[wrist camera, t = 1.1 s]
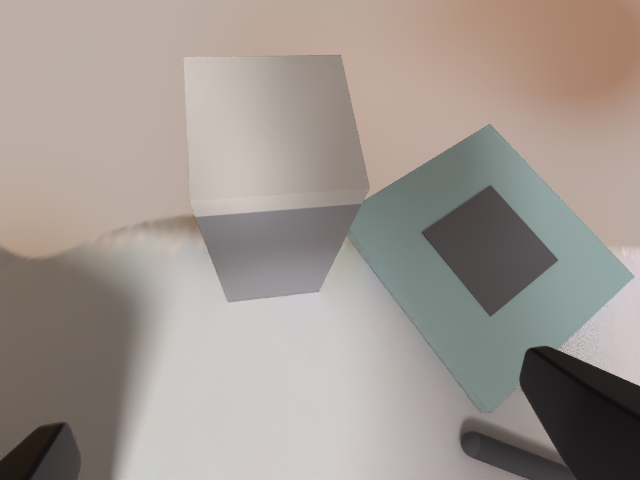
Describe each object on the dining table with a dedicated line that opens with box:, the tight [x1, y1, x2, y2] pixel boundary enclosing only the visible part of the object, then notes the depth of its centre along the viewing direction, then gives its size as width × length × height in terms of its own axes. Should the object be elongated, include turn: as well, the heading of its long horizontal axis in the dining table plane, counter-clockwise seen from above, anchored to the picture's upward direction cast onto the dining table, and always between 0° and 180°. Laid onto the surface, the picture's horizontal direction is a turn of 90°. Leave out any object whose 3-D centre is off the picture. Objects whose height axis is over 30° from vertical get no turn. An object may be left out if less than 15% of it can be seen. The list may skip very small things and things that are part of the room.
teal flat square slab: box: [346, 124, 635, 413], centre depth 24 cm, size 13×13×1 cm
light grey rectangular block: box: [184, 55, 370, 302], centre depth 17 cm, size 5×5×12 cm
